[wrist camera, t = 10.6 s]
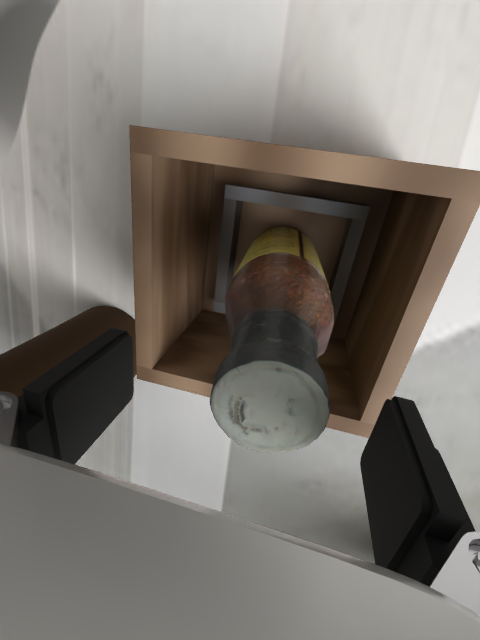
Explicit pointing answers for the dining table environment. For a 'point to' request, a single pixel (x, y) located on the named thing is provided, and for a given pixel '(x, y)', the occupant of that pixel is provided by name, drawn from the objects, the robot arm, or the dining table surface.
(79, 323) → the olive oil
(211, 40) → the dining table surface
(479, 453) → the dining table surface
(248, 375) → the sauce bottle
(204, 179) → the walled box
